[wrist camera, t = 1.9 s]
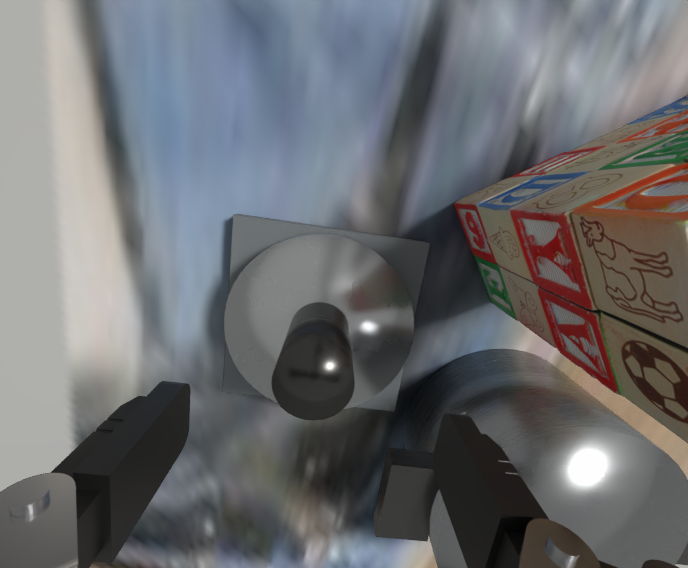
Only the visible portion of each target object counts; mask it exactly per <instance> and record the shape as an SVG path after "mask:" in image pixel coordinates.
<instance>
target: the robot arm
mask: <svg viewBox="0 0 688 568" xmlns="http://www.w3.org/2000/svg"><path fill="white" fill-rule="evenodd" d="M189 415H190V386H189V384H186V383H177V382H168V381H162V382H160V383H159V384H158V385H157V386H156V387H155V388H154V389H153V390H152V391H151V392H150V393H149V394H148V396H147V397H145V396H138V397H136V398H134V399H133V400H131V401H129V402H127V403H125V404H123V405H121V406H120V407H119V408H118V409H117V410H116V411H115V412H114V413H113V414H112V415H111V416H110V417H109V418H108V420H107V421H104V422H103V423H102V424H101V425H100V426H99V427H98V428H97V430H96V432H93V433H92V434H91V435H90V436H89V437H88V438H86V439H85V440H84V441H83V442H82V443H81V444H80V445H79V446H78V447H77V448H76V449H75V450H74V451H73V452H72V453H71V454H70V455H69V456H68V457H66V458H65V459H64V460H63V461H62V462H61V463H60V464H59V465H58V466H57V467H56V468H55V469H54V470H53V471H52V472H51V473H45V474H40V475H36V476H32V477H29V478H27V479H24V480H22V481H19V482H17V483H15V484H13V485H11V486H9V487H7V488H6V489H4V490H3V491H1V492H0V568H89V567H90V565H91V564H92V563H93V561H97V562H110V563H112V562H113V561H114V559H115V558H116V556H117V554H118V553H119V551H120V550H121V548H122V546H123V545H124V543H125V541H126V540H127V538H128V537H129V535H130V533H131V532H132V530H133V529H134V527H135V525H136V524H137V522H138V520H139V519H140V517H141V516H142V514H143V512H144V511H145V509H146V508H147V506H148V504H149V503H150V501H151V499H152V498H153V496H154V495H155V493H156V491H157V490H158V488H159V486H160V485H161V483H162V482H163V480H164V478H165V477H166V475H167V474H168V472H169V470H170V469H171V467H172V465H173V464H174V462H175V461H176V459H177V457H178V456H179V454H180V453H181V451H182V449H183V447H184V445H185V442H186V439H187V436H188V431H189ZM433 472H434V476H435V479H436V481H437V484H438V487H439V490H440V493H441V495H442V498H443V501H444V504H445V507H446V509H447V512H448V515H449V518H450V521H451V523H452V526H453V529H454V532H455V534H456V537H457V540H458V543H459V546H460V548H461V551H462V554H463V557H464V560H465V562H466V565H467V568H618V567H615V566H613V565H610V564H607V563H605V562H602V561H600V560H598V559H597V557H596V555H595V554H594V553H593V551H592V550H591V549H590V547H589V546H588V545H587V544H586V543H585V542H584V541H583V540H582V539H581V538H580V537H579V536H578V535H576V534H575V533H574V532H572V531H571V530H570V529H568V528H566V527H565V526H563V525H561V524H559V523H557V522H554V521H551V520H549V518H548V517H547V515H546V514H545V512H544V511H543V509H542V508H541V506H540V505H539V503H538V502H537V500H536V499H535V497H534V496H533V494H532V493H531V491H530V490H529V488H528V487H527V485H526V484H525V482H524V481H523V479H522V478H521V476H518V472H517V470H516V469H515V467H514V466H513V464H510V460H509V458H508V457H507V455H506V454H505V452H504V451H503V449H502V448H501V447H500V446H499V445H498V444H497V443H496V442H495V441H493V440H492V439H491V438H490V437H489V436H488V435H487V434H481V432H480V431H479V429H478V428H477V426H476V424H475V423H474V421H473V420H472V418H471V417H470V416H467V415H458V414H449V413H445V414H444V415H443V417H442V420H441V424H440V428H439V432H438V436H437V440H436V444H435V448H434V453H433ZM641 568H678V567H677V566H674V565H672V564H670V563H667V562H664V561H660V560H653V559H651V560H647V561H645V562H644V564H643V565H642V567H641Z"/></svg>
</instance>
